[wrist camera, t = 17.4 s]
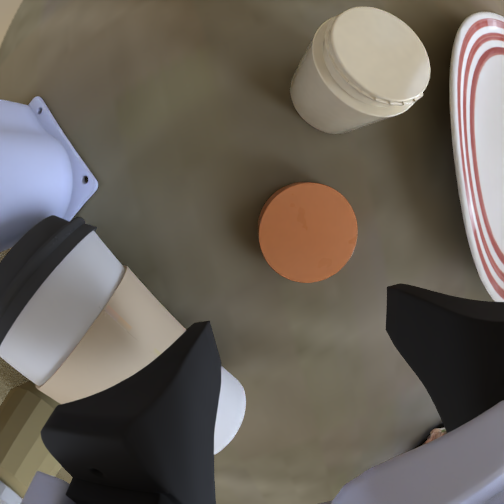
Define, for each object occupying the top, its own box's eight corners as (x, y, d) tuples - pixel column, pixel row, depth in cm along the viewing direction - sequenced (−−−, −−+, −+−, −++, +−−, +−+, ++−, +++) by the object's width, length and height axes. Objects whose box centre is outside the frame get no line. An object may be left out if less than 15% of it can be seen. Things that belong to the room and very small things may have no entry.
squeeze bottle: (54, 423, 22) (-5, 533, 5) (15, 366, 20) (-72, 474, 3) (104, 426, 22) (48, 568, 4) (61, 364, 20) (-39, 511, 2)
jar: (271, 83, 15) (291, 25, 8) (334, 45, 14) (380, -14, 7) (327, 150, 16) (384, 136, 9) (385, 107, 15) (456, 80, 8)
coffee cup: (179, 373, 22) (39, 247, 16) (268, 346, 18) (91, 166, 12) (148, 469, 15) (-37, 336, 9) (248, 480, 11) (-46, 278, 5)
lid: (349, 268, 18) (358, 276, 16) (263, 280, 18) (264, 290, 16) (344, 178, 16) (354, 178, 15) (251, 187, 16) (252, 188, 15)
